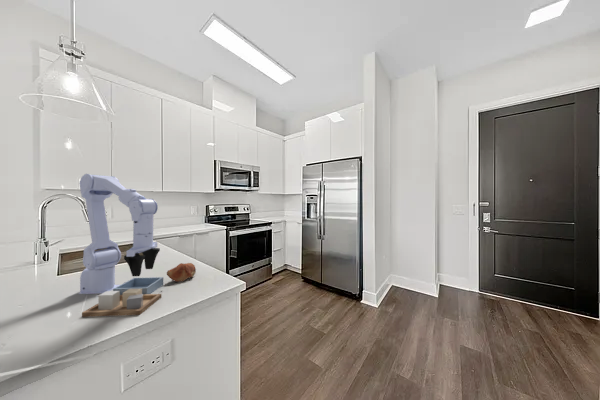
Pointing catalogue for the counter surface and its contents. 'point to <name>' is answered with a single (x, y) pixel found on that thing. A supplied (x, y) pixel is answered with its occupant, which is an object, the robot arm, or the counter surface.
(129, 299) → the matte stone cube
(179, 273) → the bread loaf
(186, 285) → the counter surface
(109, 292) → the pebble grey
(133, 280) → the dish
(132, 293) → the cream cube
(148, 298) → the tray
